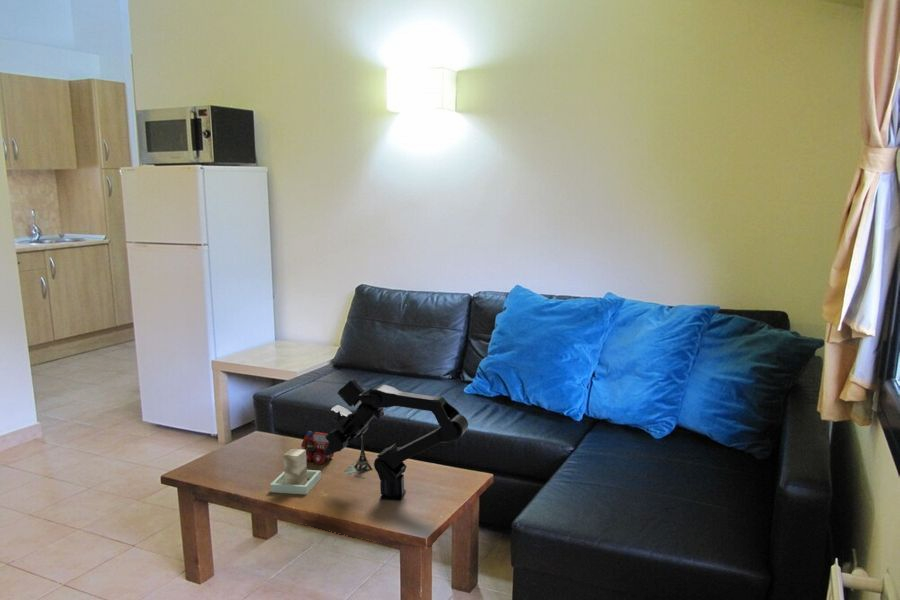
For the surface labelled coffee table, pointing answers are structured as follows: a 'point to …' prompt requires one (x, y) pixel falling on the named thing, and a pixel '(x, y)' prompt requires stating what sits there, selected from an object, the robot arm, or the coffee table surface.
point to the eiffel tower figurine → (361, 462)
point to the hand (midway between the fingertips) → (332, 449)
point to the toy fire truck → (315, 447)
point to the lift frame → (295, 489)
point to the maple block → (295, 467)
